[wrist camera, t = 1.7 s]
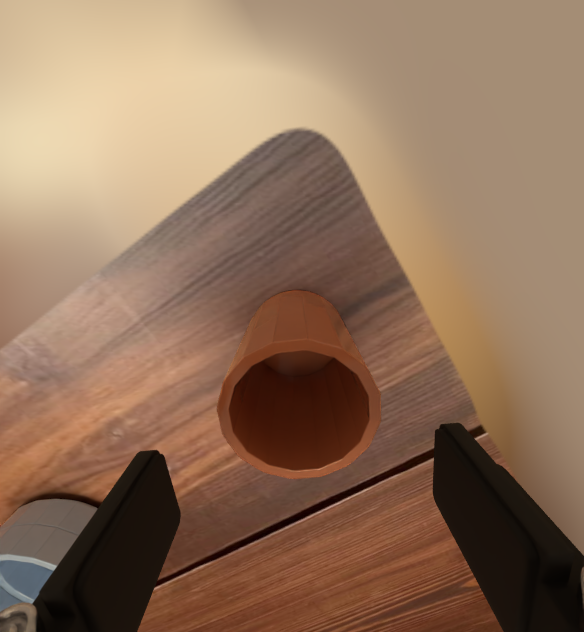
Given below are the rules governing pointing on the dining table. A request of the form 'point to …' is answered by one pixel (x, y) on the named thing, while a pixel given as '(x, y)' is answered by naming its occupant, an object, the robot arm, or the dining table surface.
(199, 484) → the dining table surface
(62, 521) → the bowl
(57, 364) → the dining table surface
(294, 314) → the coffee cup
